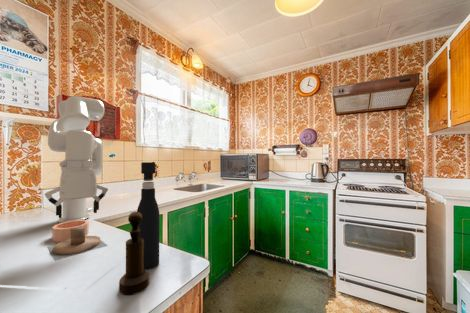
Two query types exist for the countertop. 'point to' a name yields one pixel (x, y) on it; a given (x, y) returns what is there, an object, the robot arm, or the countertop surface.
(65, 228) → the bowl
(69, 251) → the lid
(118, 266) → the countertop surface
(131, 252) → the dark brown knobbed cylinder
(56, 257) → the mat
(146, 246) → the wine bottle
